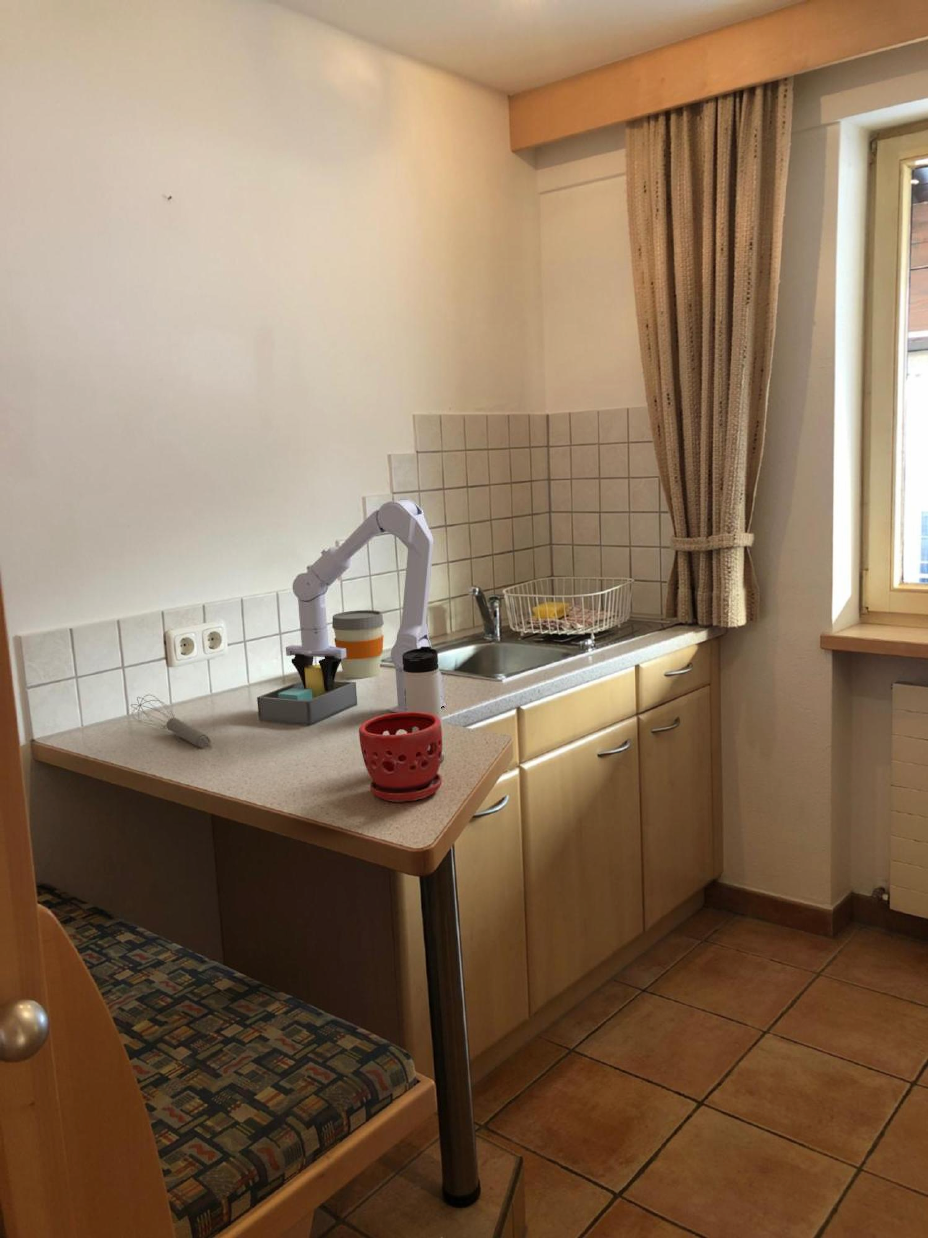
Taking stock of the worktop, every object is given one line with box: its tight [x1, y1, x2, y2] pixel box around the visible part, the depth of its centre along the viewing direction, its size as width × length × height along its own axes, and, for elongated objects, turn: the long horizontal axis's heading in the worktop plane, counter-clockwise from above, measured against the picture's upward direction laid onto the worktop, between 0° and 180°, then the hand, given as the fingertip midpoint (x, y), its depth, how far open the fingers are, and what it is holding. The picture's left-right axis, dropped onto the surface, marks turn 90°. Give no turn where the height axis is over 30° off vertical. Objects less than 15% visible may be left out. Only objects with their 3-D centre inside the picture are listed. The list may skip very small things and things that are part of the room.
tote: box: [256, 679, 358, 726], centre depth 217 cm, size 17×13×5 cm
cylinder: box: [304, 664, 330, 699], centre depth 220 cm, size 5×5×7 cm
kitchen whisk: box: [130, 694, 212, 750], centre depth 206 cm, size 6×34×6 cm, turn 40°
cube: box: [278, 688, 313, 701], centre depth 214 cm, size 5×5×5 cm
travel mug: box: [402, 646, 445, 763], centre depth 179 cm, size 6×7×20 cm
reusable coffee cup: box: [331, 609, 384, 680], centre depth 250 cm, size 13×13×15 cm
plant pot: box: [358, 712, 443, 803], centre depth 163 cm, size 13×13×12 cm
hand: (318, 689), depth 221 cm, fingers closed on cylinder, 5 cm apart
